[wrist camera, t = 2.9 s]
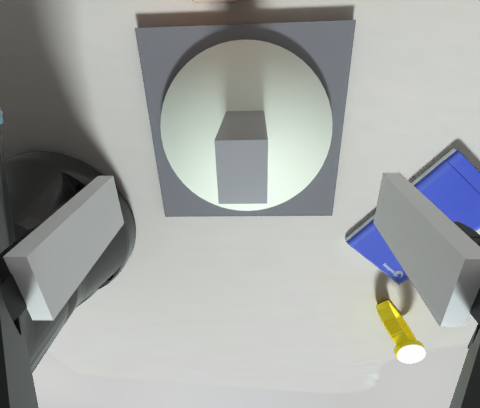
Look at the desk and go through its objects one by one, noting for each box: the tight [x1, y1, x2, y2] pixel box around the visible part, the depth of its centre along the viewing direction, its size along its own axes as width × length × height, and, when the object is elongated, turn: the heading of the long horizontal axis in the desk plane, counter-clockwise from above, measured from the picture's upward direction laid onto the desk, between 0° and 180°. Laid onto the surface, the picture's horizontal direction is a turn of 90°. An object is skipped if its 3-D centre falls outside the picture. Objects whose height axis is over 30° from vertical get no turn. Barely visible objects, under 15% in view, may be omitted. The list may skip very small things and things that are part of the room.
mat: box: [135, 20, 356, 217], centre depth 27 cm, size 16×16×1 cm
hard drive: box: [345, 148, 480, 284], centre depth 30 cm, size 2×8×12 cm
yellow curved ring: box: [376, 300, 426, 364], centre depth 34 cm, size 6×3×6 cm, turn 40°
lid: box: [160, 40, 333, 211], centre depth 22 cm, size 14×14×9 cm
